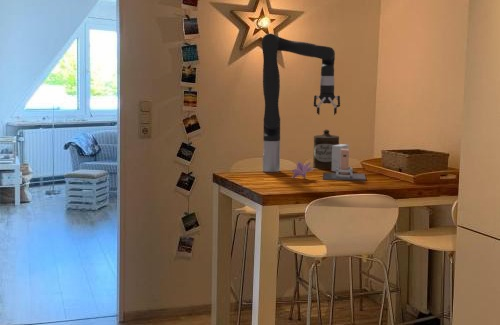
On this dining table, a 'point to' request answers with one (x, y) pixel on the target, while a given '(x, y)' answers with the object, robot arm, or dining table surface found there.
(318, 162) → the labeled lidded canister
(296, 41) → the robot arm
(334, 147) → the skincare box
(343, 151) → the pink rectangular block
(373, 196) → the dining table surface
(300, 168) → the lily
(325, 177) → the collar stand
